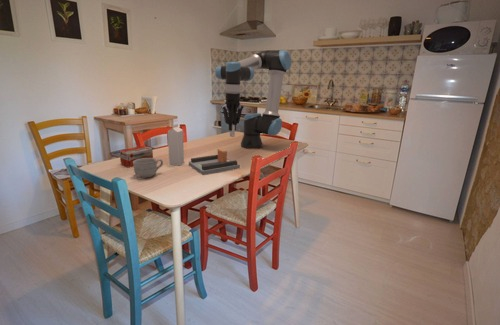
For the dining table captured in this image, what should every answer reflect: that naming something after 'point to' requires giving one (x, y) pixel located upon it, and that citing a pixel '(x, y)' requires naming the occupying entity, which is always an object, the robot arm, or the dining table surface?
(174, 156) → the milk
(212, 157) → the set of dark strips
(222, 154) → the orange rectangular block
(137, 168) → the teacup
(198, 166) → the panel
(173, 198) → the dining table surface
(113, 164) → the dining table surface
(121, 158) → the medicine box
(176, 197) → the dining table surface
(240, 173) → the dining table surface
